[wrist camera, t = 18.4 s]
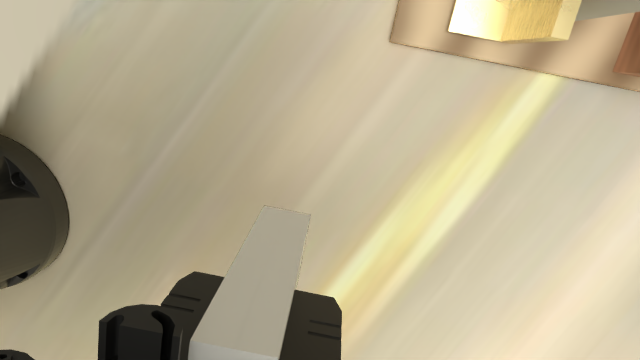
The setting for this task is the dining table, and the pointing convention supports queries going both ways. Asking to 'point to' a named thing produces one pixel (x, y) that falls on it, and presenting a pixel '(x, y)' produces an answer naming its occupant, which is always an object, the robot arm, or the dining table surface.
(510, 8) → the bookend
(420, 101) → the dining table surface
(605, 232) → the dining table surface
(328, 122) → the dining table surface
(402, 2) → the shelf
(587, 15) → the beverage can
